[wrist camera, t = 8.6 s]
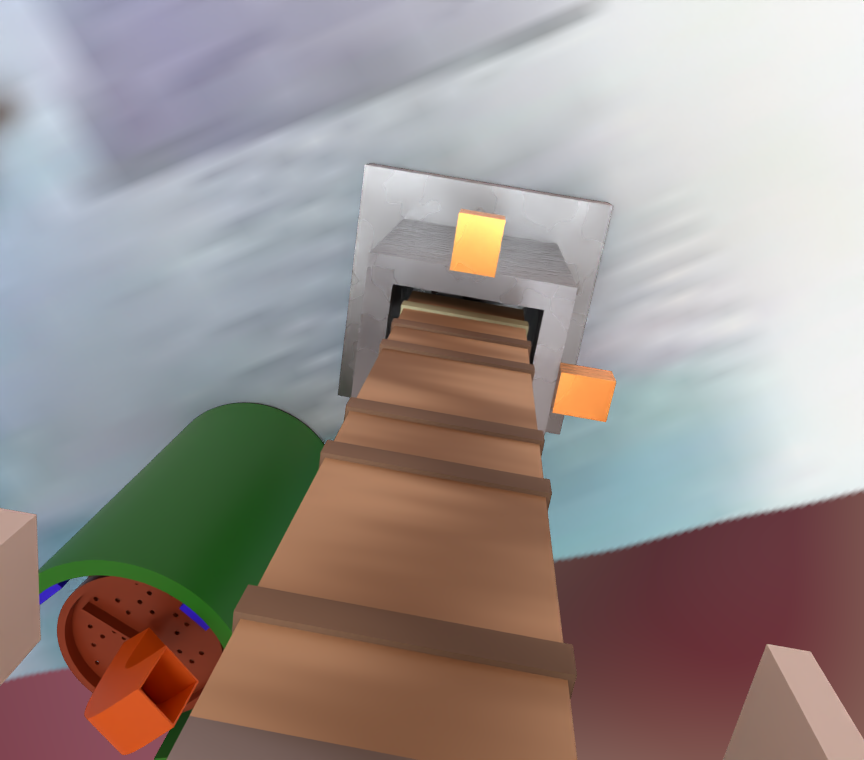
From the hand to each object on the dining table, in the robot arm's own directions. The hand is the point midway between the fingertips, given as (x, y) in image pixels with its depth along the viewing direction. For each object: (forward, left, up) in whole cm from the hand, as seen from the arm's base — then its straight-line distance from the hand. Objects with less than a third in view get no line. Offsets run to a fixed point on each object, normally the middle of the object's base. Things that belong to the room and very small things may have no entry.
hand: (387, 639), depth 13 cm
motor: (-10, -12, -27) cm, 31 cm away
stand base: (0, 0, -27) cm, 27 cm away
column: (0, 0, -17) cm, 17 cm away
